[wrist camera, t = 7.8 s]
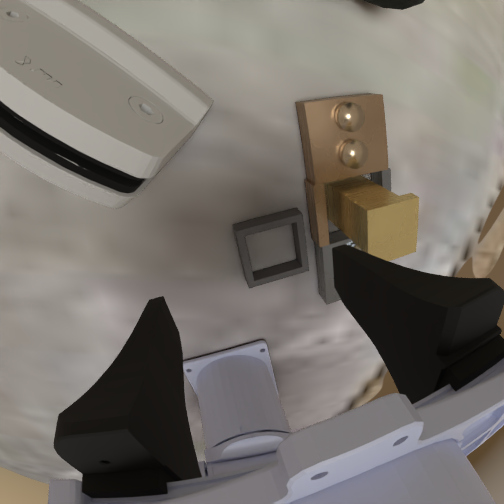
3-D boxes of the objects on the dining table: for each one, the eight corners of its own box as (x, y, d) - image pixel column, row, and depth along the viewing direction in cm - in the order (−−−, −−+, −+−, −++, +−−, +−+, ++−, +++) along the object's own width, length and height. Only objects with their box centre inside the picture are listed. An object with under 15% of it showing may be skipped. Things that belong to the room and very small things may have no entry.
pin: (365, 213, 25) (415, 251, 19) (323, 224, 25) (367, 268, 19) (363, 168, 23) (418, 197, 17) (318, 178, 23) (367, 211, 17)
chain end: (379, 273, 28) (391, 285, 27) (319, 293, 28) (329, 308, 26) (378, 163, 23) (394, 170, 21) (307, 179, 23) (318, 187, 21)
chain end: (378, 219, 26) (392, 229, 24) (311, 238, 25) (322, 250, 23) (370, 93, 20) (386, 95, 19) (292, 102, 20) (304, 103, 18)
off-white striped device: (218, 104, 19) (189, 180, 12) (173, 152, 21) (126, 248, 14) (40, -23, 11) (-70, -8, 4) (9, 32, 14) (-94, 74, 6)
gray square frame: (303, 262, 26) (309, 270, 25) (245, 279, 25) (249, 288, 24) (296, 208, 23) (302, 213, 22) (232, 224, 23) (235, 231, 22)
